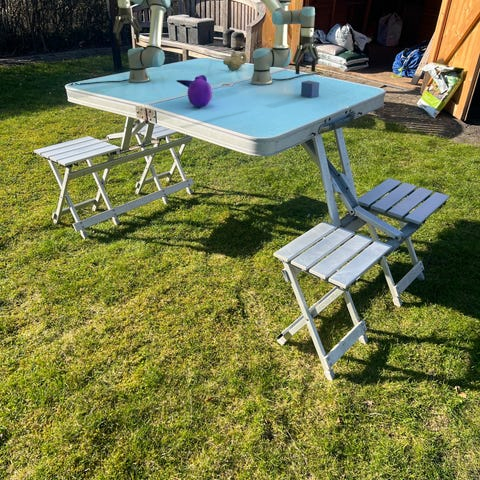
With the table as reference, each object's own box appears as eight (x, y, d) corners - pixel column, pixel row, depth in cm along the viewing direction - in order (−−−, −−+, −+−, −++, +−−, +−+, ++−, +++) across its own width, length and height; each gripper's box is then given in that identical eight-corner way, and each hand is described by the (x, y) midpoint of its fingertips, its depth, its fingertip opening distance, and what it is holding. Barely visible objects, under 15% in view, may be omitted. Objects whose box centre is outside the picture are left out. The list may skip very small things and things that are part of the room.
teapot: (227, 72, 362) (226, 52, 355) (220, 70, 371) (219, 51, 363) (249, 69, 371) (249, 50, 364) (242, 67, 380) (242, 48, 372)
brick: (311, 98, 283) (312, 84, 278) (300, 95, 289) (301, 82, 284) (318, 96, 286) (319, 82, 282) (307, 94, 292) (308, 80, 288)
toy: (200, 97, 287) (212, 112, 266) (174, 93, 280) (184, 108, 259) (206, 72, 279) (218, 86, 258) (178, 67, 272) (189, 80, 251)
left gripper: (110, 8, 276) (115, 45, 286) (144, 6, 291) (148, 42, 301) (104, 8, 281) (109, 44, 291) (137, 6, 296) (141, 41, 306)
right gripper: (296, 37, 261) (294, 76, 272) (326, 34, 274) (323, 71, 284) (287, 37, 266) (286, 74, 277) (317, 33, 279) (315, 69, 290)
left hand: (129, 43), depth 296 cm, fingers open, 13 cm apart
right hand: (305, 72), depth 281 cm, fingers open, 13 cm apart
